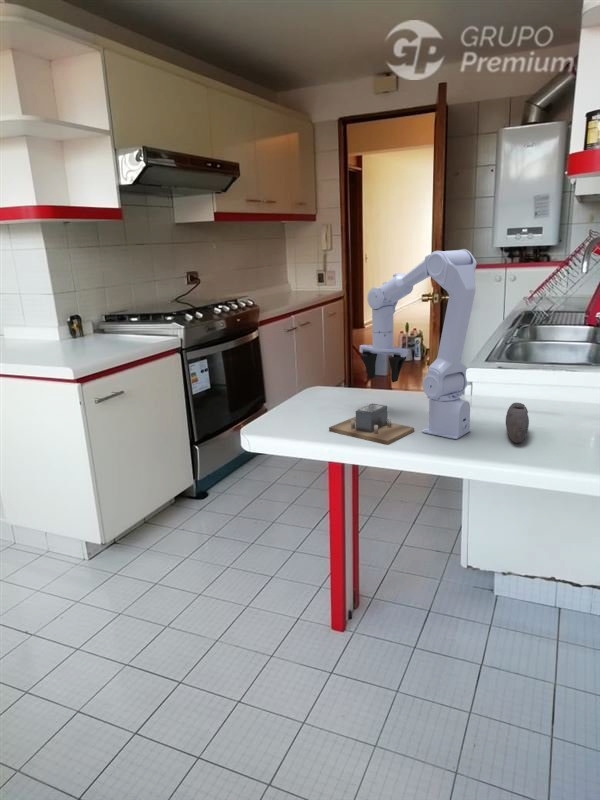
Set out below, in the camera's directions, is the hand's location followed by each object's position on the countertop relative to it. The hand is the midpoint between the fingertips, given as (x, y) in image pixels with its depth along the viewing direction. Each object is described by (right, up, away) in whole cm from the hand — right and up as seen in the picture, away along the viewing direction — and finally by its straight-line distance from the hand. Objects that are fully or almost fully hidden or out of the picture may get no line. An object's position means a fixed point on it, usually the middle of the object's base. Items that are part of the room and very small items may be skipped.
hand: (383, 379), depth 157 cm
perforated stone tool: (+29, -15, -22) cm, 39 cm away
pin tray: (-5, -14, -13) cm, 20 cm away
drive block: (-5, -13, -13) cm, 19 cm away
